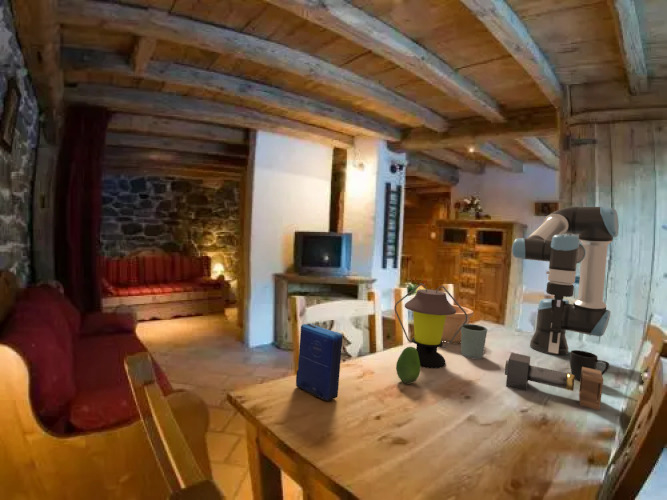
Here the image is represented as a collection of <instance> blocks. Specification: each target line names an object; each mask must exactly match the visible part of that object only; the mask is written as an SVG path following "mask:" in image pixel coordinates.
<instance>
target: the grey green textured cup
mask: <svg viewBox="0 0 667 500" xmlns="http://www.w3.org/2000/svg"><path fill="white" fill-rule="evenodd" d="M461 326H462V325H461ZM461 333H462V334H461V343H460V351H461V352H460V354H461V355H462V356H463V357H465V358H467V357H468V359H472V358H473V360H480V359H483V357H484V351H485V347H486V339H487V334H488V328H487V327H485V326H483V325H479V324H474V323H473V324H472V323H469V324H465V325H464V326H463V327H462V329H461Z"/></svg>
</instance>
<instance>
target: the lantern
mask: <svg viewBox="0 0 667 500" xmlns="http://www.w3.org/2000/svg"><path fill="white" fill-rule="evenodd" d="M420 286H423V287H424V288H425V289H424V288H423V289H418V288H419V287H420ZM440 288H442V289H443V290H444V291H445V292H444V291H440V290H439V289H440ZM417 289H418V290H417ZM415 290H416V292H415ZM413 292H415V293H416V294H415V296H413V297H412V298H411V299H409V300H408V301H407V302H406V303H404V308H405V309H407V310H408V311H412V313H413V314H412V315H413V329H414V330H413V334H414V337H412V338H411V339H410V338H409V336H408V334H407V332H406V329H405V326H404V325H403V322H402V320H401V318H400V316H399V313H398V311H397V306H398V305H399V303H401V302H402V301H403V300H404V299H405V298H406V297H407V298H408V296H409V295H410V294H412V293H413ZM447 295H448V296H449V297H450V298H451V300H452V301H454V303H455V305H457V306H459V307H460V309H461V310H462V311H463V312H464V313H465V316H466V320H465V322H464V323H463V324H462V326H461V327H460V328H459V330H458V331H457V332H456V334H455V335H454V336H453V338H452V339H451V340H450V342H449V343H446V345H445V346H443V342H442V341H441V338H442V333H443V329H444V324H445V320H446V315H452V314H455V313H456V309H455V308H454V307H453V306H452V305H453V304H452V303H450V302H449V300H448V298H447ZM462 307H463V306H462ZM462 307H461V305H460V304H459V302H457V300H456V299H455V298H454V297H453V295H452V294H451V293H450V292H449V291H448V290H447V288H446V287H445V286H444V285H441V286H439V287H438V288H436V290H434V289H427V286H426V285H425V284H424V283H421V282H420V283H419V284H418V285H416V287H414V288H413V289H412V290H410V291H409V292H408V293H407V294H406V295H404V296H403V297H402V298H400V299H399V300H398V301H396V303H395V305H394V307H393V308H394V312H395V316H397V319H398V322H399V324H400V326H401V329H402V330H403V333H404V335H405V338H406V340H407V341H408V342H410V343H413V344H415V345H416V347H415V348H416V350H417V352H418V356H419V360H420V368H424V367H425V369H440V367H441V368H443V367H445V366H446V359H445V358H444V356H443V355H442V354H441V353H439V352H438V348H442V349H446V348H448V347H449V346H450V345H451V344H452V343H451V342H452V340H453V339H454V338H455V336H456V335H457V334H458V333H459V331H460V330H461V329H462V327H463V326H464V325H465V323H466V322H467V314H466V312H465V311H464V310H463V308H462ZM444 365H445V366H444Z"/></svg>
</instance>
